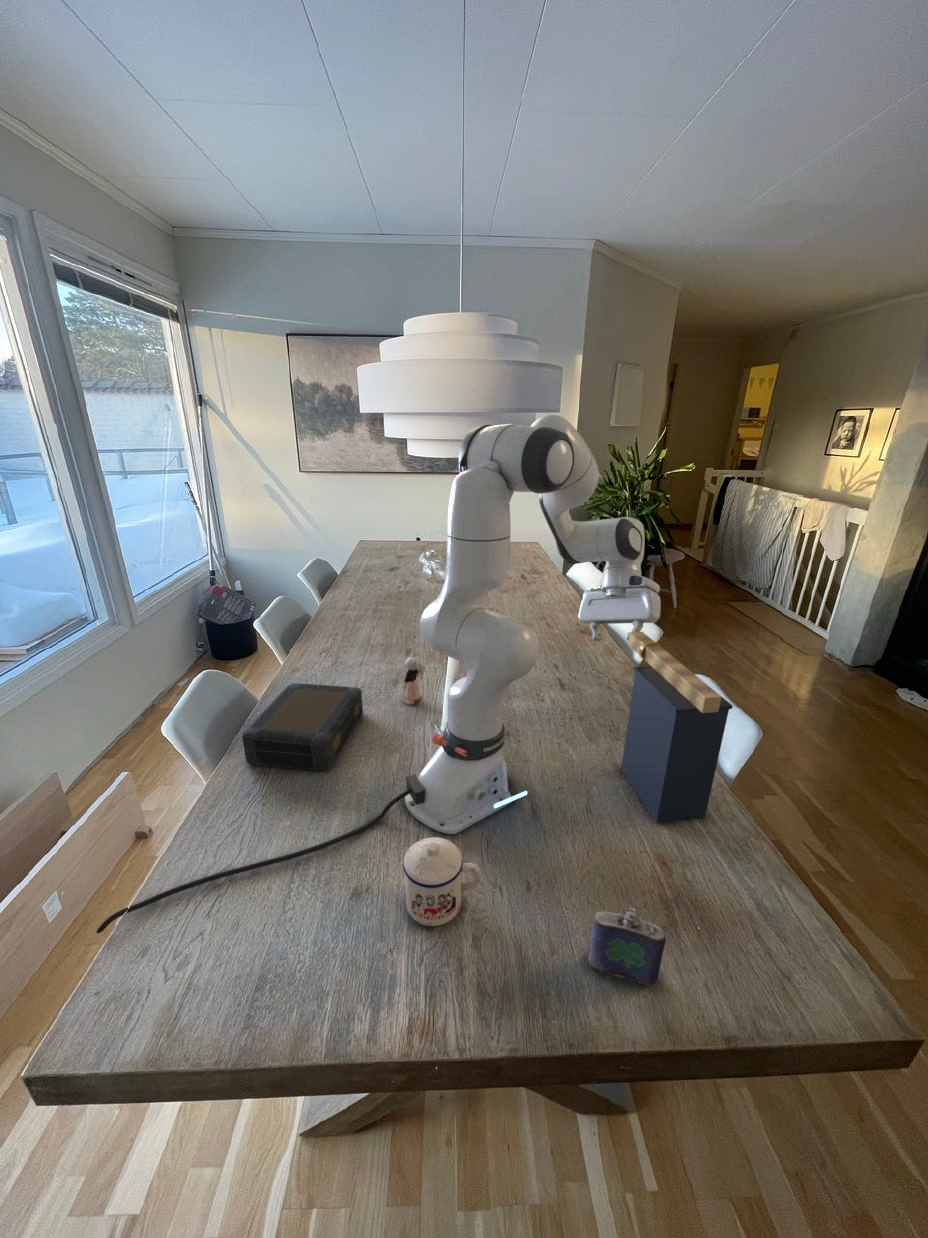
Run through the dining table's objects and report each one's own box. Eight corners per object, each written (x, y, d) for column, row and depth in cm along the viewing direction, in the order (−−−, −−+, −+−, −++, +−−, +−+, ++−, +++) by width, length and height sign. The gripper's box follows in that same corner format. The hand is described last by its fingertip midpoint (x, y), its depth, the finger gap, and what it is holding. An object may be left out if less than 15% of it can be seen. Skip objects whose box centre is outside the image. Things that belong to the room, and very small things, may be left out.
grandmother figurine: (415, 707, 136) (414, 664, 132) (401, 706, 137) (399, 663, 133) (423, 693, 143) (422, 652, 139) (410, 692, 144) (408, 651, 140)
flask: (587, 969, 72) (595, 913, 68) (589, 949, 74) (596, 894, 70) (657, 990, 69) (669, 933, 65) (656, 969, 72) (668, 913, 68)
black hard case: (291, 706, 136) (287, 681, 134) (365, 712, 134) (363, 686, 131) (240, 765, 113) (235, 735, 110) (329, 773, 111) (326, 743, 108)
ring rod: (624, 647, 114) (626, 629, 113) (643, 646, 115) (645, 628, 113) (697, 717, 88) (702, 694, 86) (721, 715, 88) (726, 692, 87)
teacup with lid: (404, 932, 77) (402, 873, 72) (404, 881, 85) (402, 825, 81) (484, 924, 78) (486, 866, 74) (476, 875, 86) (478, 820, 82)
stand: (619, 769, 113) (633, 667, 104) (664, 765, 114) (682, 664, 105) (655, 824, 98) (676, 709, 88) (707, 818, 99) (732, 705, 90)
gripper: (577, 584, 129) (569, 637, 127) (653, 577, 114) (645, 637, 111) (591, 591, 133) (584, 643, 131) (666, 585, 118) (660, 644, 115)
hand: (613, 641), depth 121 cm, fingers open, 8 cm apart
